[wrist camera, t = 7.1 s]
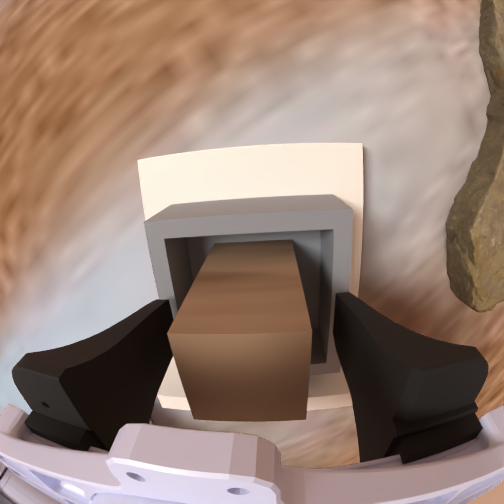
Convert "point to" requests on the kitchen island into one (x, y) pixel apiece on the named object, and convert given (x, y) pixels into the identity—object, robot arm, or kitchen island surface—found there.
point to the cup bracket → (261, 232)
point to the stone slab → (483, 188)
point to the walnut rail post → (245, 335)
